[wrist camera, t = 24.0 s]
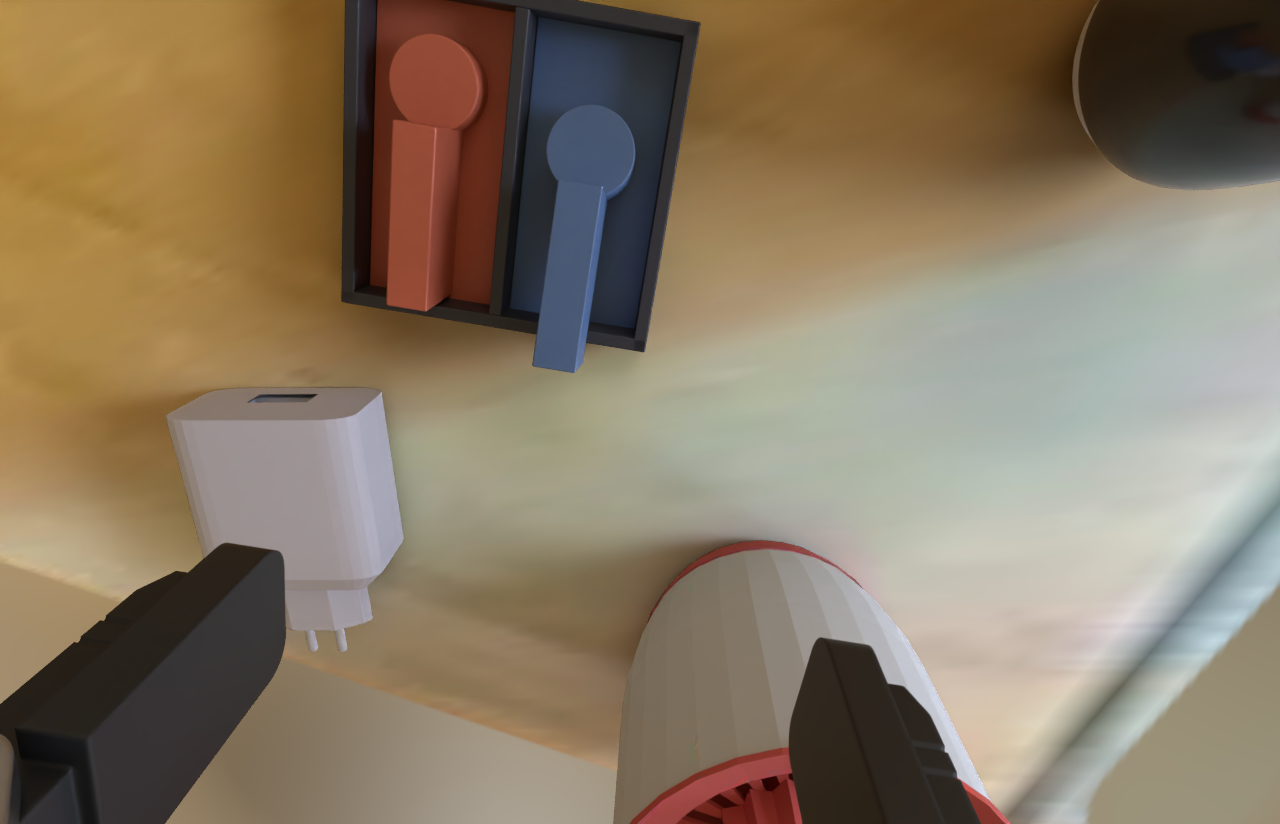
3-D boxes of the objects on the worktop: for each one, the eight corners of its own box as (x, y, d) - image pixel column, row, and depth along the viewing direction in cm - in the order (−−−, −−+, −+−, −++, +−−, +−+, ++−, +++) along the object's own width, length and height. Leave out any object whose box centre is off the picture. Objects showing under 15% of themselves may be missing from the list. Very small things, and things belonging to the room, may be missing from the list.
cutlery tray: (369, -28, 30) (344, -42, 28) (698, 31, 31) (701, 22, 29) (362, 291, 35) (340, 302, 33) (646, 339, 36) (644, 352, 33)
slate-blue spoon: (523, 353, 33) (508, 362, 29) (557, 107, 31) (545, 81, 28) (603, 366, 33) (598, 377, 30) (641, 122, 32) (641, 98, 28)
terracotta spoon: (395, 284, 35) (362, 301, 31) (404, 32, 31) (368, 16, 27) (472, 297, 35) (449, 315, 31) (491, 47, 31) (467, 33, 27)
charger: (271, 622, 43) (215, 386, 37) (422, 623, 42) (387, 386, 37) (226, 677, 38) (154, 419, 33) (394, 679, 38) (349, 418, 33)
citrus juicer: (559, 670, 43) (479, 1070, 25) (724, 453, 38) (783, 754, 19) (767, 780, 46) (837, 1218, 27) (949, 592, 40) (1194, 977, 22)
